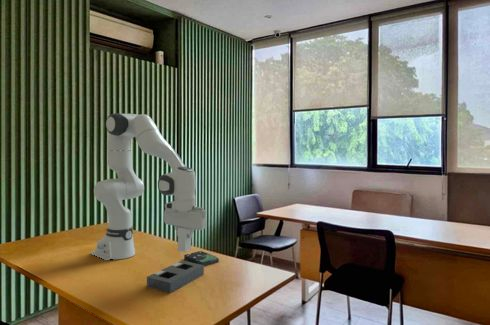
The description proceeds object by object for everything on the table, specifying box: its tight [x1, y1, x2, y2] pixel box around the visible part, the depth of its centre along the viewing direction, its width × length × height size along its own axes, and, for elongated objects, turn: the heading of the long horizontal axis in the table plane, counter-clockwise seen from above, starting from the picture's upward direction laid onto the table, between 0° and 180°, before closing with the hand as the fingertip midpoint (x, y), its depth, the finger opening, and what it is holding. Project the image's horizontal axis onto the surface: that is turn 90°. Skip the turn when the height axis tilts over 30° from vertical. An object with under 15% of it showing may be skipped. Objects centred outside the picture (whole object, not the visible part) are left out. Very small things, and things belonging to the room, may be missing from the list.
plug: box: [177, 227, 192, 253], centre depth 147 cm, size 4×5×10 cm
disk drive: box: [184, 250, 220, 267], centre depth 167 cm, size 10×3×15 cm
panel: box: [146, 260, 205, 294], centre depth 143 cm, size 12×22×4 cm, turn 152°
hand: (184, 237), depth 147 cm, fingers closed on plug, 4 cm apart
